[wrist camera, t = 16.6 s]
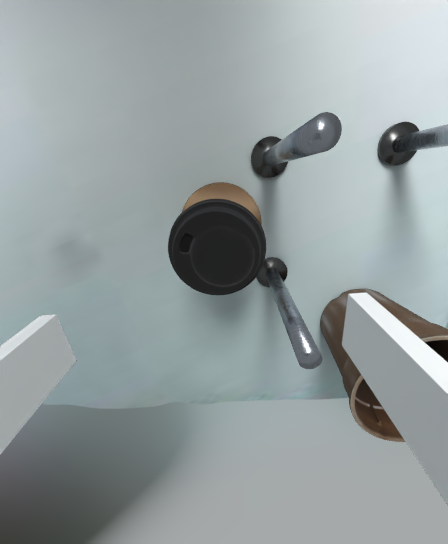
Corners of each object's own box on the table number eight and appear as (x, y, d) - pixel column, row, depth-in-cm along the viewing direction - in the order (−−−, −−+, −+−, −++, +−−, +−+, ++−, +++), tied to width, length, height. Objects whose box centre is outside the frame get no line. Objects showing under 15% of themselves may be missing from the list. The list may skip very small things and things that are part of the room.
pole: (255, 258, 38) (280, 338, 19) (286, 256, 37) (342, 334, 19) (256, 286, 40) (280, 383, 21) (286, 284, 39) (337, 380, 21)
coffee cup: (185, 195, 33) (152, 207, 19) (251, 188, 33) (267, 194, 19) (195, 258, 37) (174, 306, 23) (255, 252, 36) (271, 298, 22)
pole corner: (250, 139, 31) (280, 85, 13) (287, 135, 31) (374, 73, 12) (251, 179, 33) (280, 182, 15) (287, 175, 33) (362, 174, 14)
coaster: (175, 186, 34) (174, 187, 33) (258, 178, 33) (259, 178, 32) (188, 264, 38) (187, 266, 37) (261, 258, 38) (262, 260, 37)
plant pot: (309, 279, 39) (360, 343, 24) (410, 271, 38) (528, 332, 23) (306, 355, 45) (344, 445, 30) (393, 350, 44) (477, 439, 29)
